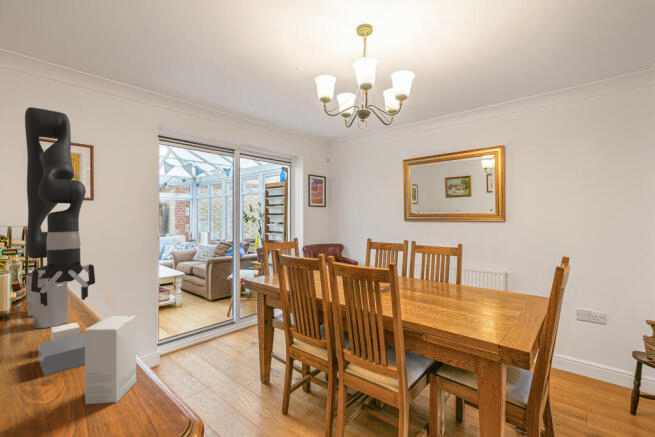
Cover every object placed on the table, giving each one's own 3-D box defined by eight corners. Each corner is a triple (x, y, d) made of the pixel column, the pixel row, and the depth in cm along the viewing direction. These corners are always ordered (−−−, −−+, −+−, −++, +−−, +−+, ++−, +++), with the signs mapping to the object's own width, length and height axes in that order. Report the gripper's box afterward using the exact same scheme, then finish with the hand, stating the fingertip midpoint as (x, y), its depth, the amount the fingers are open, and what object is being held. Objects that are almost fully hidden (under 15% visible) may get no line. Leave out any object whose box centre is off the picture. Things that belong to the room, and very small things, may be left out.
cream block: (51, 347, 91) (50, 327, 91) (77, 341, 96) (76, 322, 96) (53, 353, 87) (52, 332, 87) (80, 347, 91) (80, 326, 91)
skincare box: (109, 383, 71) (107, 315, 71) (139, 381, 72) (138, 314, 71) (83, 405, 63) (81, 329, 62) (117, 403, 63) (116, 327, 63)
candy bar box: (56, 308, 131) (55, 269, 131) (65, 308, 130) (65, 269, 130) (25, 316, 120) (25, 274, 120) (36, 317, 120) (35, 274, 119)
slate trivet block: (38, 362, 83) (38, 343, 83) (94, 347, 91) (93, 330, 91) (44, 377, 75) (43, 357, 74) (104, 360, 83) (104, 341, 83)
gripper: (91, 245, 99) (92, 295, 99) (29, 248, 89) (30, 305, 89) (96, 246, 94) (97, 299, 94) (31, 250, 83) (32, 310, 83)
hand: (64, 302), depth 91 cm, fingers open, 8 cm apart
